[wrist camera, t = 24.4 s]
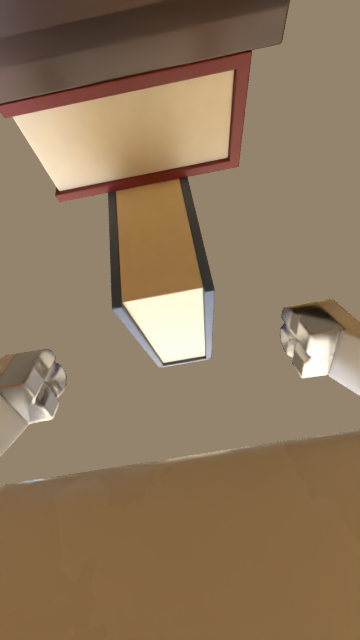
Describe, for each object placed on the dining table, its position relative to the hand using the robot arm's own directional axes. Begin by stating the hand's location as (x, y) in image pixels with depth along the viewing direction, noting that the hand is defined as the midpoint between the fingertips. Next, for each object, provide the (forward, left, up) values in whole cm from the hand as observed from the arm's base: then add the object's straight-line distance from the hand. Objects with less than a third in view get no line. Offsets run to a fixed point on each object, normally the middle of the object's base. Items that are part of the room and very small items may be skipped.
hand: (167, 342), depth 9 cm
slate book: (0, +12, 0) cm, 12 cm away
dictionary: (0, +14, -4) cm, 15 cm away
